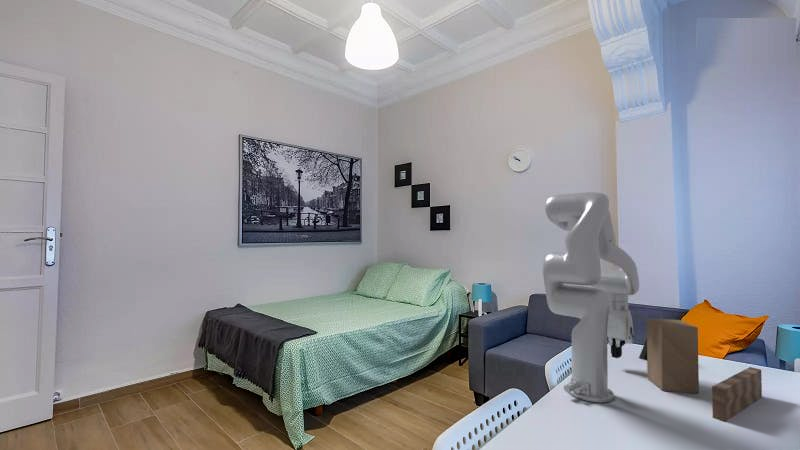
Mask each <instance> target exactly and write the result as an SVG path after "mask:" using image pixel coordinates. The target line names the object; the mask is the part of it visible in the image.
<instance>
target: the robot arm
mask: <svg viewBox="0 0 800 450" xmlns="http://www.w3.org/2000/svg"><path fill="white" fill-rule="evenodd" d="M544 205H545V207H544V209H545V210H544V211H545V214H546V217H547V219H548V220H549V221H550V222H551V223H552V224H554V225H556V226H557V227H558V228H559V229H562V230H564V231H567V232H568V233H566V236H565V239H564V244H565V250H566V251H564V252H563V251H562V252H559V251H557V252H550V253H548V254H547V255H546V256H545V258H544V260H543V263H542V277H543V282H544V283H543V284H544V289H545V290H544V291H545V298H546V303H547V306H548V309H549V310H550V311H551V312H552V313H553V314H556V315H560V316H565V317H572V318H577V319H580V321H579V322H578V323H577V324H576V325H575V326H574V327H573V328H572V330H571V377H570V382H568V383H567V384H565V385H564V386H563V390H564V391H565V392H566V393H568V394H570V395H571V396H572V397H575V398H577V399H579V398H580V399H579V400H584V401H587V402H591V403H609V402H612V401H613V400H614V398H615V393H614V392H613V391H612V390H611V389H610V388H609V387H608V385H609V384H608V382H609V379H608V377H609V376H608V367H609V364H608V344H609V346H610V354H611V358H615V359H619V358H622V355H623V352H622V351H623V347H624V346H625V345H630V344H633V343H634V340H633V338H634V326H633V325H634V323H633V316H632V314H631V313H632V312H631V310H629V296H634V295H636V294H637V293H638V292H639V289H640V278H639V272H638V268H637V264H636V262H635V261H634V260H633V258H632V257H631V256H630V255H629V254H628V253H627V252H626V251H625V250H623V249H622V248H621V247H620V246H618V245H617V241H616V235H615V231H614V225H613V222H612V221H613V220H612V215H611V211H610V210H609V208H610V201H609V198H608V196H607V195H606V194H604V193H603V192H596V191H593V192H592V191H590V192H577V193H564V194H563V193H562V194H554V195H551V196H549V197H548V199H547V200H546V202H545V204H544ZM601 260H602V261H606V262H607V263H610V264H612V265H615V266H616V267H618V268H620V269H621V270H618V269H617V270H616V269H615V270H614V269H613V270H612V269H610V270H609V269H608V270H602V268H601V267H602V266H601Z"/></svg>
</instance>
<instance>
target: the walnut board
mask: <svg viewBox="0 0 800 450" xmlns="http://www.w3.org/2000/svg"><path fill="white" fill-rule="evenodd" d="M762 379H763V378H762V369H760V368H755V367H751V366H749V367H747V368H745V369H743V370H741V371H739V372H738V373H735V374H733V375H731V376H730V377H728V378H725V379H724V380H722V381H720V382H718V383H716V384H714V385H712V386H711V391H712V392H711V400H712V402H711V403H712V407H711V408H712V418H713V419H716V420H719V421H722V422H727V421H728V420H730V419H731V418H733V417H734V416H736V415H737V414H739V413H741V412H742V411H743V410H744V409H747V408H748V407H749V406H750V405H753V404H754V403H755V402H757V401H758V400H760V399H761V398H762V397H763V392H762V391H763V389H762V387H763V386H762V384H763V383H762Z"/></svg>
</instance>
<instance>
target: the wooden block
mask: <svg viewBox="0 0 800 450" xmlns="http://www.w3.org/2000/svg"><path fill="white" fill-rule="evenodd" d="M646 339H647V361H646V363H647V367H646V370H647V372H646V373H647V376H646V377H647V379H648V380H649V382H651V383H652V384H654V385H655V386H656V387H657V388H658V389H660V391H663V392H674V393H675V392H676V393H685V394H686V393H687V394H699V393H700V392H699V391H700V386H699V385H700V384H699V383H700V381H699V379H700V378H699V329H698V326H696V325H693V324H690V323H688V322H685V321H683V320H680V319H671V318H651V317H650V318H649V317H648V318H646Z"/></svg>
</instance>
